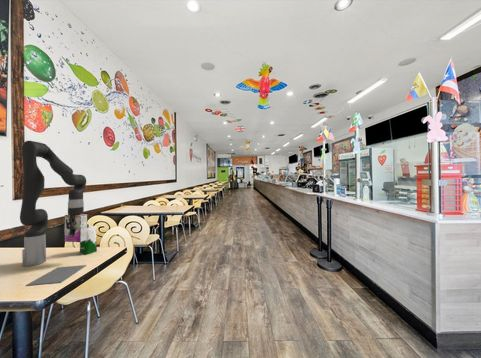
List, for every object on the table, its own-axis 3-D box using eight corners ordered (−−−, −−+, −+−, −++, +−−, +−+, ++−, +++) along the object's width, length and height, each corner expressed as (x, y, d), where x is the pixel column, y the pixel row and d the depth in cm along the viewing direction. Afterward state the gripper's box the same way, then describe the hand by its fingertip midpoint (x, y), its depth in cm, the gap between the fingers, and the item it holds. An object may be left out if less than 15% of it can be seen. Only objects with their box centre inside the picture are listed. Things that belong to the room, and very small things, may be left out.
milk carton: (77, 254, 136) (76, 225, 136) (90, 249, 145) (90, 222, 145) (86, 255, 133) (85, 225, 133) (99, 250, 142) (99, 223, 142)
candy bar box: (63, 242, 120) (63, 215, 120) (71, 239, 125) (71, 213, 125) (80, 242, 119) (80, 215, 119) (87, 240, 124) (87, 214, 124)
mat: (25, 285, 94) (25, 285, 94) (57, 268, 114) (57, 267, 114) (61, 282, 96) (61, 281, 96) (86, 265, 116) (86, 264, 116)
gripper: (76, 205, 129) (76, 231, 128) (60, 208, 114) (60, 237, 114) (89, 205, 130) (89, 230, 129) (74, 207, 116) (74, 236, 115)
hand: (75, 233), depth 122 cm, fingers closed on candy bar box, 5 cm apart
